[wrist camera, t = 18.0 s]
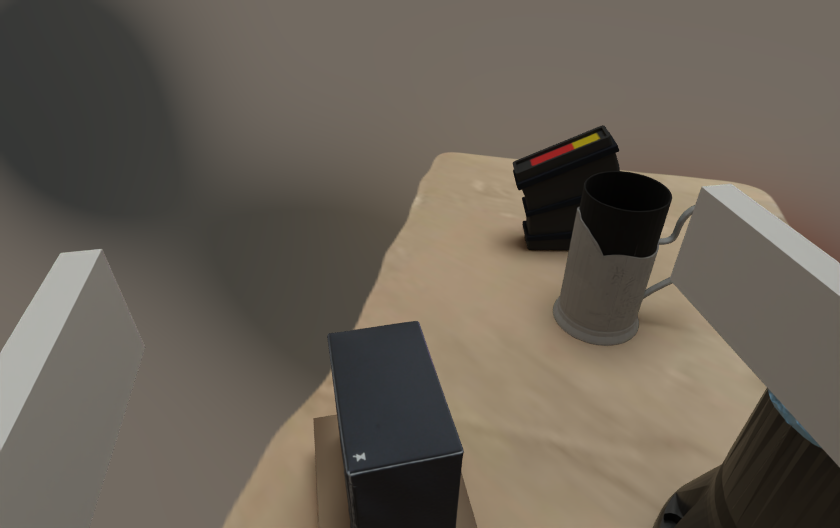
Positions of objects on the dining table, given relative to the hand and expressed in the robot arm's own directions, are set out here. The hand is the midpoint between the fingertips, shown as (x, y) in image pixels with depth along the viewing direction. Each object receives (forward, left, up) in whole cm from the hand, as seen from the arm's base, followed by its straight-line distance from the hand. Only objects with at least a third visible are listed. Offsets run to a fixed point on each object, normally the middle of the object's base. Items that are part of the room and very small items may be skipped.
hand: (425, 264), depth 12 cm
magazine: (-26, -42, -31) cm, 58 cm away
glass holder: (-27, -28, -31) cm, 50 cm away
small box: (0, -11, -27) cm, 29 cm away
